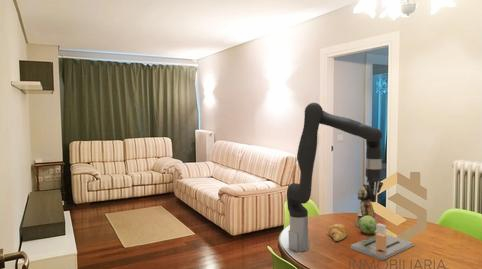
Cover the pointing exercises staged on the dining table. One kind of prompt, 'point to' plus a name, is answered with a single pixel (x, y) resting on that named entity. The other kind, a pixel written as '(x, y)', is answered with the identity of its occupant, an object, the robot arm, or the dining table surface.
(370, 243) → the fader panel
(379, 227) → the cream fader
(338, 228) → the croissant
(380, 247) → the orange fader
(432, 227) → the dining table surface
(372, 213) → the plush toy
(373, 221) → the decorative ball
